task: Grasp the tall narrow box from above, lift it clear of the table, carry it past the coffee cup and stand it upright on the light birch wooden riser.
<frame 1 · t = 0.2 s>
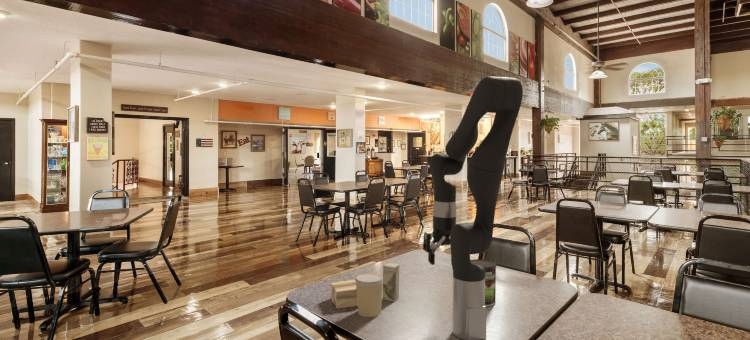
hand: (443, 262, 126), 18 cm above the table, tool pointing down, fingers open, 8 cm apart
box: (391, 299, 140), on the table
coffee cup: (369, 313, 128), on the table
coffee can: (480, 301, 138), on the table
riser: (347, 301, 138), on the table
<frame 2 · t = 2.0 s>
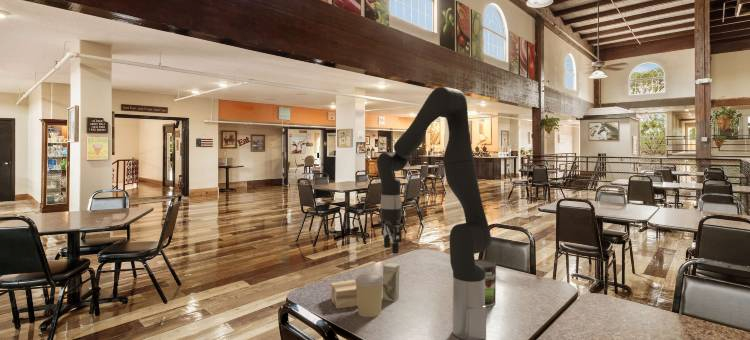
hand: (390, 250, 140), 18 cm above the table, tool pointing down, fingers open, 8 cm apart
nothing on the table moved.
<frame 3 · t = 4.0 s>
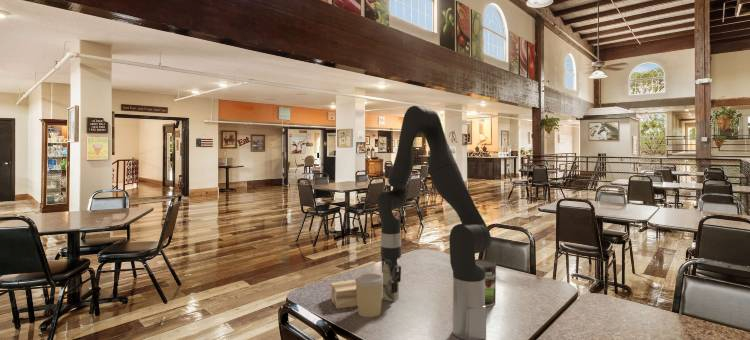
hand: (390, 288, 140), 4 cm above the table, tool pointing down, fingers closed on box, 6 cm apart
box: (391, 299, 140), on the table, touching gripper
everything else where it was.
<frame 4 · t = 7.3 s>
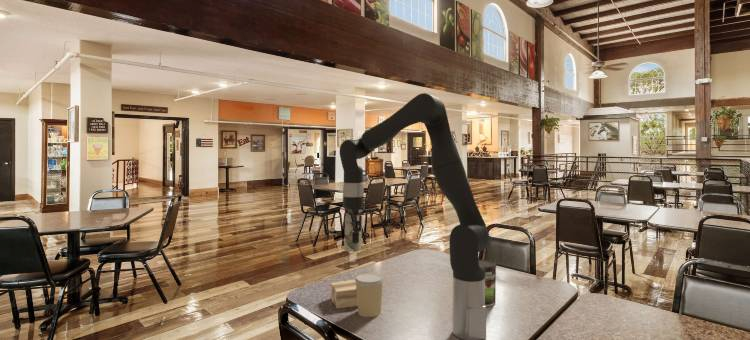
hand: (353, 240, 138), 22 cm above the table, tool pointing down, fingers closed on box, 6 cm apart
box: (353, 250, 138), point 18 cm above the table, touching gripper
everything else where it was.
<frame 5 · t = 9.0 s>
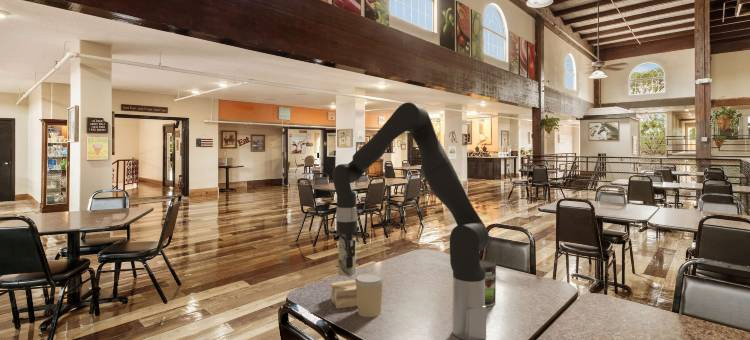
hand: (347, 264, 138), 14 cm above the table, tool pointing down, fingers closed on box, 6 cm apart
box: (347, 275, 138), point 10 cm above the table, touching gripper
everything else where it was.
when the fingers open (11 cm above the table, at t = 10.6 s): box stays where it is, resting on riser.
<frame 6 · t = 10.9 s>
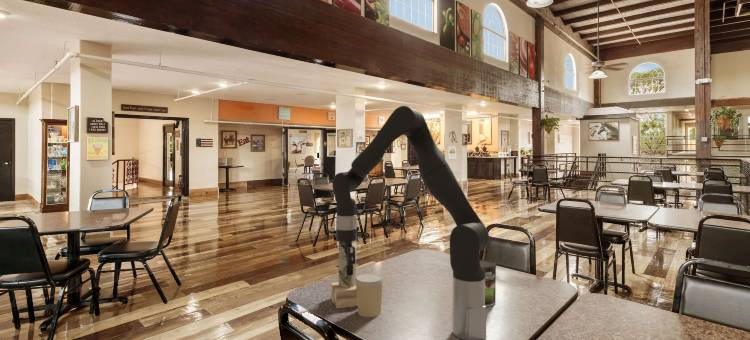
hand: (346, 271, 138), 11 cm above the table, tool pointing down, fingers open, 8 cm apart
box: (347, 286, 138), point 6 cm above the table, touching riser
everything else where it was.
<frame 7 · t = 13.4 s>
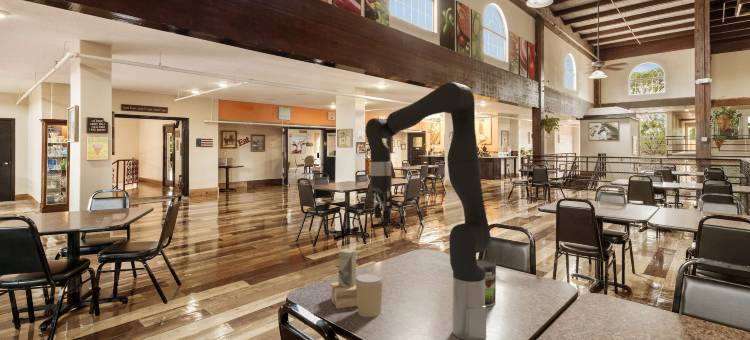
hand: (381, 219, 136), 30 cm above the table, tool pointing down, fingers open, 8 cm apart
nothing on the table moved.
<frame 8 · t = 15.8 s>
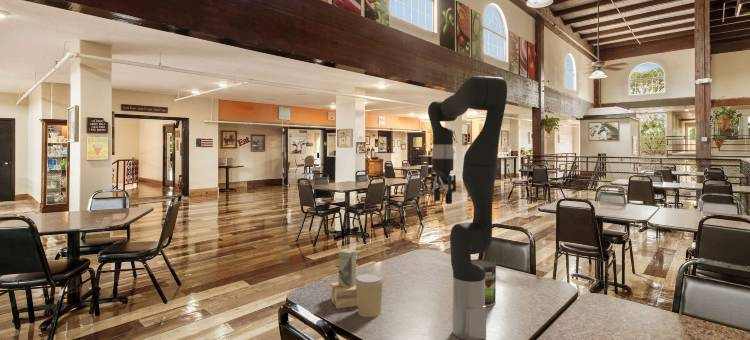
hand: (442, 202, 137), 36 cm above the table, tool pointing down, fingers open, 8 cm apart
nothing on the table moved.
at the end: box inside the target area on the riser (0.3 cm from its centre), point 5.8 cm above the riser's base; box tilted 0°; the gripper is holding nothing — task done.
